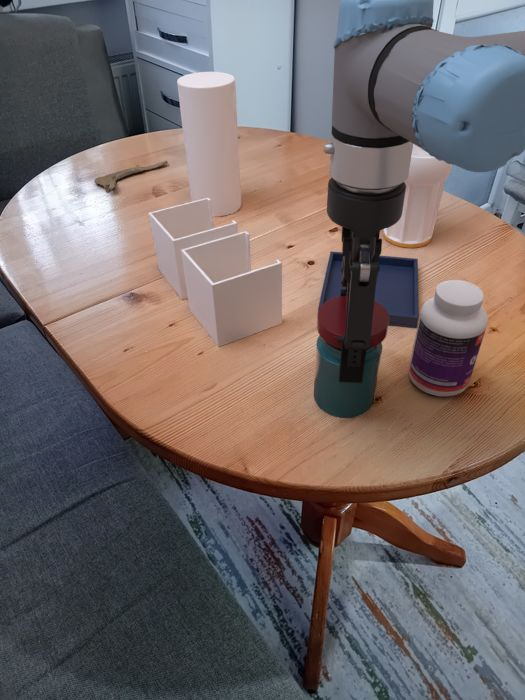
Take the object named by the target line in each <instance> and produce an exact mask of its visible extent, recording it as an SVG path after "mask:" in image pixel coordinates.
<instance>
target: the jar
mask: <svg viewBox="0 0 525 700" xmlns="http://www.w3.org/2000/svg"><path fill="white" fill-rule="evenodd" d="M382 353H383V342H381V343H380V344H379V345H377V346H375V347H373V348H370V349H369V350H366V357H365V365H364V373H363V381H362V383H350V382H339V370H340V359H341V349H340V348H337V347H334V346H332V345H330V344H329V343H327V342H326V341H324V340H323V339H322V338H321V336H320V335H319V334H318V336H317V339H316V345H315V362H314V363H315V365H314V381H313V399H314V402H315V404H316V405H317V406H318V408H319V409H320V410H322V411H323V412H324V413H326V414H328V415H330V416H332V417H336V418H341V419H352V418H357V417H360V416H362V415H364V414H366V413H368V412H369V411H370V410H371V408H372V407H373V405H374V403H375V402H374V401H375V397H376V391H377V385H378V379H379V372H380V366H381V361H382V360H381V359H382Z"/></svg>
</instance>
